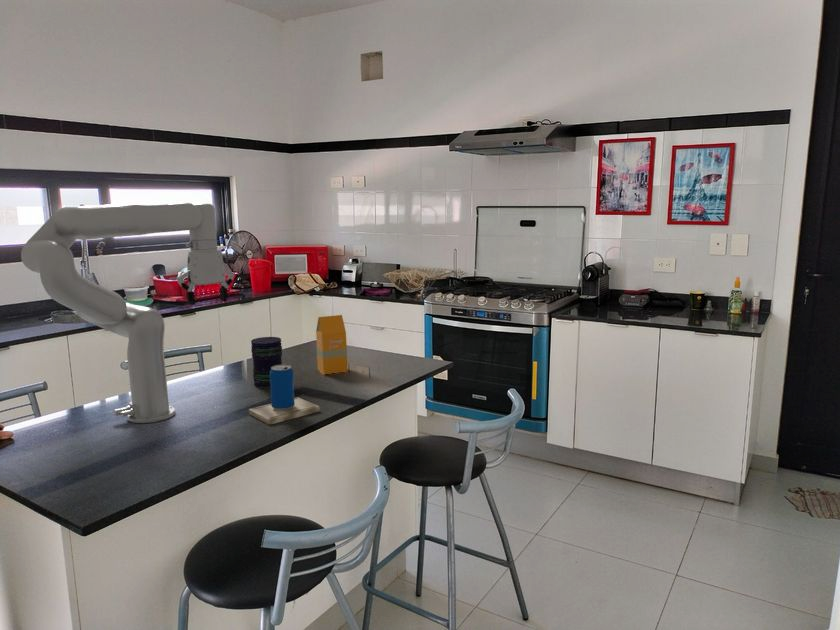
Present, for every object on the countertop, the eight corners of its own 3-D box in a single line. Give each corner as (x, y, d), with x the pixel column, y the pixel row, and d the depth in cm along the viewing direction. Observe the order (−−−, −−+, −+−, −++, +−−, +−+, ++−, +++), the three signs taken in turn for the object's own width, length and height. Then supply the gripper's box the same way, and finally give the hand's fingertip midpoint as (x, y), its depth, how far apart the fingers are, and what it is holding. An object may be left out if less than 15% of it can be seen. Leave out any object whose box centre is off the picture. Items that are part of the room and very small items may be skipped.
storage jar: (276, 388, 202) (273, 343, 200) (248, 387, 204) (245, 342, 202) (288, 380, 212) (286, 337, 209) (261, 378, 214) (259, 336, 211)
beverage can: (292, 411, 175) (290, 370, 173) (269, 411, 175) (267, 370, 173) (296, 403, 182) (294, 364, 180) (274, 404, 182) (272, 364, 179)
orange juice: (317, 370, 224) (315, 315, 220) (341, 367, 228) (339, 313, 224) (323, 375, 217) (321, 319, 213) (347, 372, 221) (345, 316, 217)
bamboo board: (269, 424, 169) (268, 419, 169) (248, 414, 178) (248, 408, 178) (319, 411, 180) (319, 405, 179) (298, 401, 188) (297, 396, 188)
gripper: (178, 247, 177) (183, 307, 180) (236, 244, 187) (240, 301, 190) (169, 246, 182) (174, 304, 185) (227, 243, 193) (230, 298, 196)
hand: (208, 302), depth 188 cm, fingers open, 9 cm apart
